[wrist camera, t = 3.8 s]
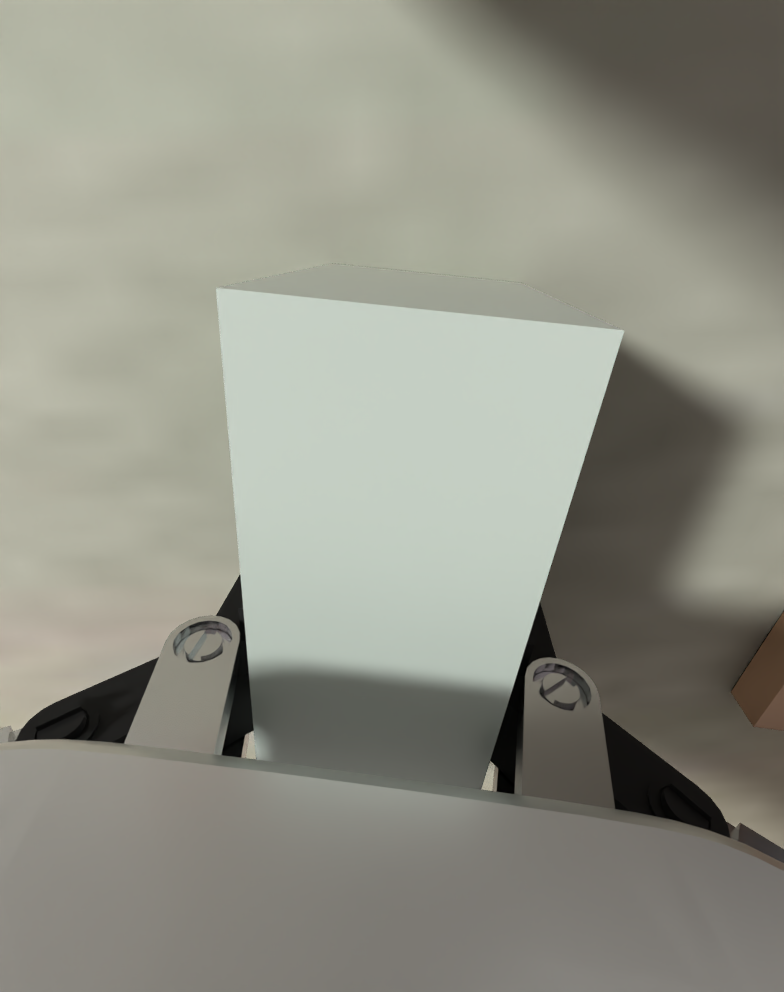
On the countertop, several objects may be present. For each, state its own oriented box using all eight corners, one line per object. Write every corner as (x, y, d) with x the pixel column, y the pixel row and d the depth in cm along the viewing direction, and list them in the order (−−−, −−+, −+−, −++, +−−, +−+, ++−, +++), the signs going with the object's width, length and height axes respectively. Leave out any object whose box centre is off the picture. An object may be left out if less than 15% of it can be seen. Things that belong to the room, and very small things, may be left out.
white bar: (332, 263, 10) (215, 287, 5) (522, 282, 10) (624, 330, 5) (321, 702, 17) (269, 916, 11) (434, 716, 16) (434, 939, 11)
